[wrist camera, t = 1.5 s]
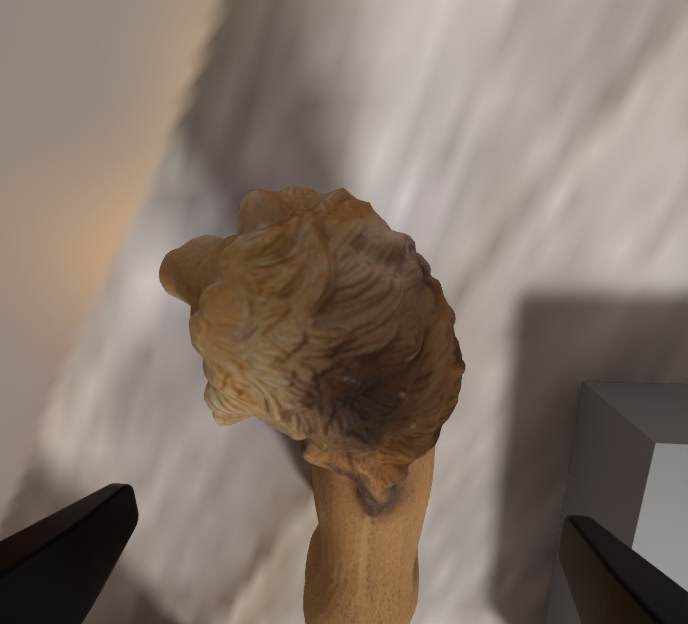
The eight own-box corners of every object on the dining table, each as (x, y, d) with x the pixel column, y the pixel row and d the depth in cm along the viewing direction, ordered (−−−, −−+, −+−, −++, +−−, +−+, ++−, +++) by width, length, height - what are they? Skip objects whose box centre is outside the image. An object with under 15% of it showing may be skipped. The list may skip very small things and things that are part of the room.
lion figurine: (265, 212, 12) (-9, 210, 4) (420, 185, 12) (513, 107, 3) (334, 548, 16) (273, 936, 7) (456, 545, 15) (546, 977, 7)
